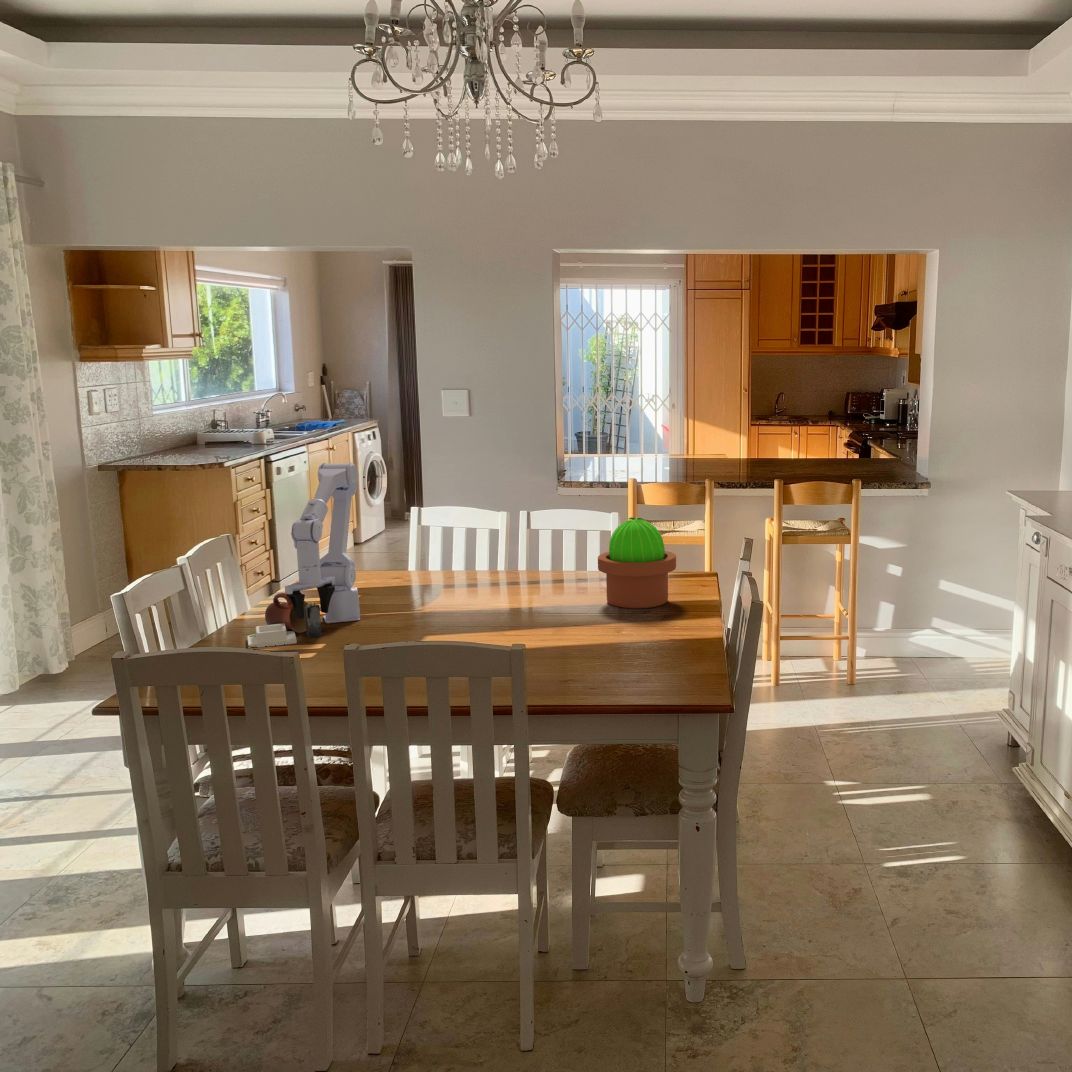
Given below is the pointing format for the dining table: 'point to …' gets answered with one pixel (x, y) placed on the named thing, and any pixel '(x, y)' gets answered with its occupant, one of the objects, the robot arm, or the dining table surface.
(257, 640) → the charger
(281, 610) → the mug
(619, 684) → the dining table surface
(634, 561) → the potted cactus
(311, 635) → the cell
